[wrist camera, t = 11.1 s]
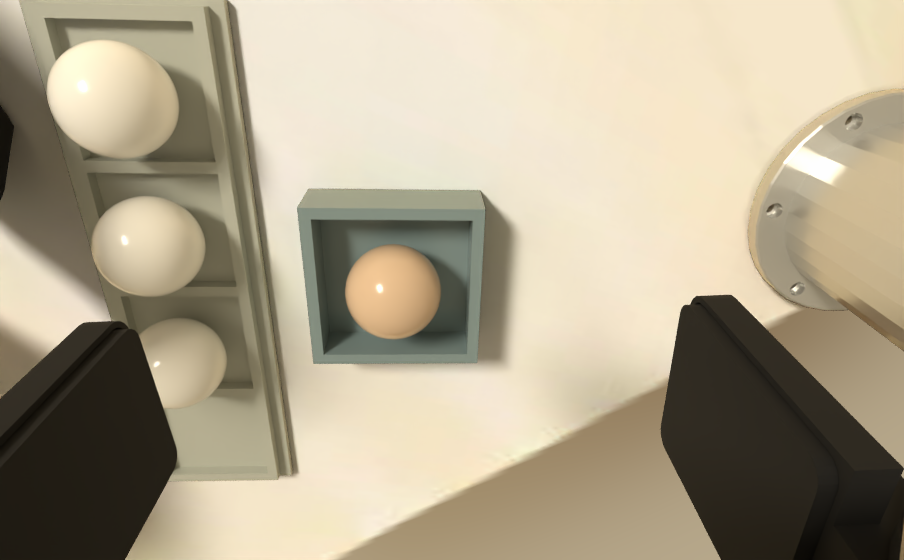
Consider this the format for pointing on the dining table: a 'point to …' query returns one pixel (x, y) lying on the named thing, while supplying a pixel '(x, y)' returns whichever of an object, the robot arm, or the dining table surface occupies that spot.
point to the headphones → (4, 147)
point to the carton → (209, 201)
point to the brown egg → (393, 291)
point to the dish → (380, 223)
